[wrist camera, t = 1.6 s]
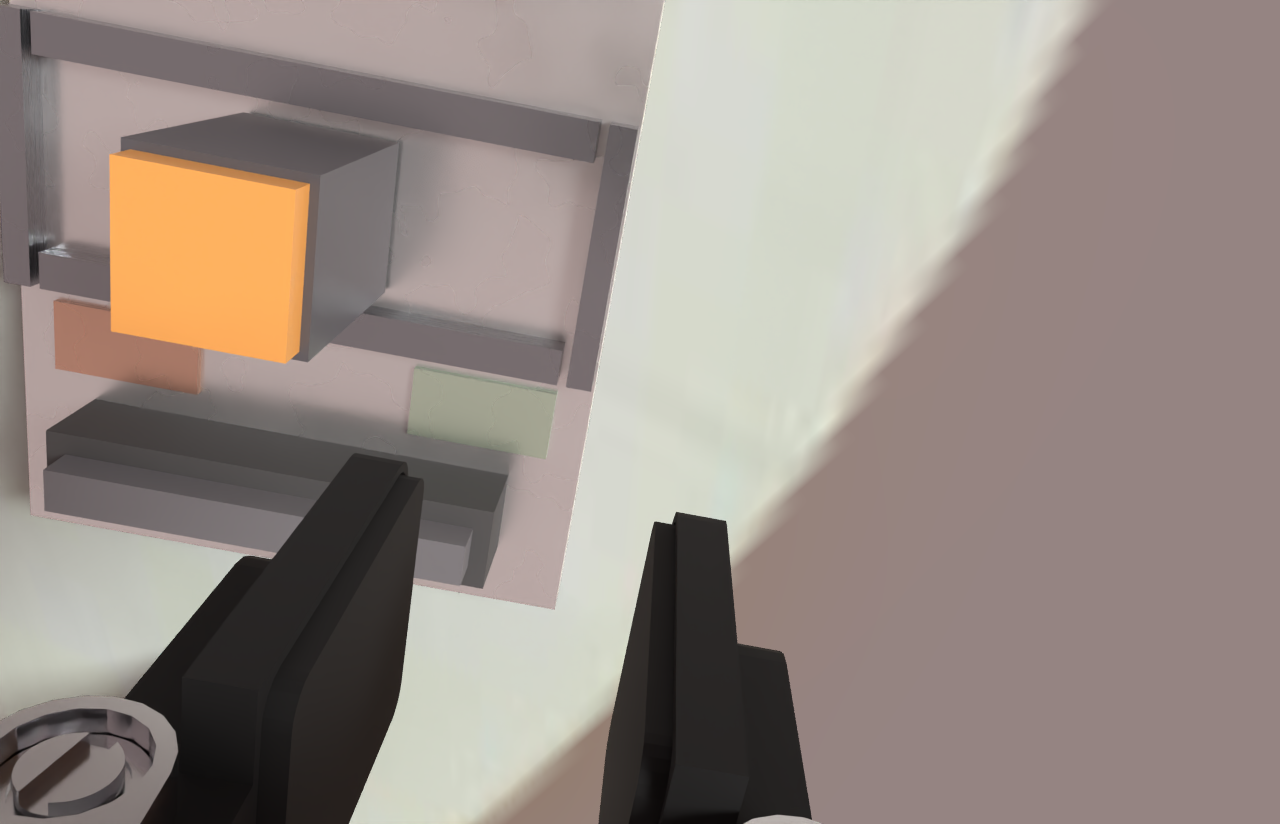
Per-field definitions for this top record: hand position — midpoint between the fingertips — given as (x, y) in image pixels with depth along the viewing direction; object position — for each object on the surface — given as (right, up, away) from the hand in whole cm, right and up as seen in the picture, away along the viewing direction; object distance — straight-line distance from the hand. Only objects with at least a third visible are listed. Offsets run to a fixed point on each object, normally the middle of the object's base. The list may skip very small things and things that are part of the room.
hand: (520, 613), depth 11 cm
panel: (-7, +8, +18) cm, 21 cm away
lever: (-7, +8, +16) cm, 19 cm away
